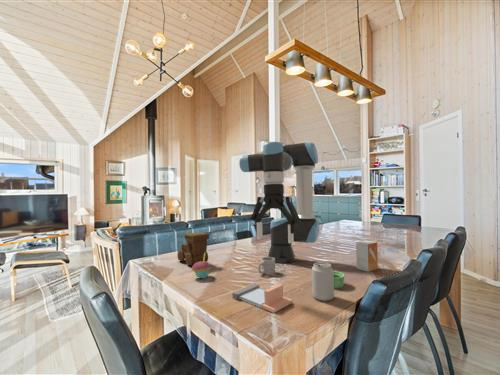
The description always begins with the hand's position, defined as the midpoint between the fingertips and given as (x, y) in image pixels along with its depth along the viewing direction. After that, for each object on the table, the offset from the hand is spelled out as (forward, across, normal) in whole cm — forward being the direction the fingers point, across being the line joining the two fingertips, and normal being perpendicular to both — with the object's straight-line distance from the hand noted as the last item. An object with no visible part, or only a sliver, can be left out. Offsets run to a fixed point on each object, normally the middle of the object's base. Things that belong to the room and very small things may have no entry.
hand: (274, 240), depth 94 cm
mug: (+20, -17, +19) cm, 32 cm away
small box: (+20, +20, +52) cm, 59 cm away
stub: (+20, +5, -7) cm, 22 cm away
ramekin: (+20, +14, +22) cm, 33 cm away
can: (+20, +15, +8) cm, 27 cm away
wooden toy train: (+20, -61, +12) cm, 65 cm away
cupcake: (+20, -38, -2) cm, 44 cm away
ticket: (+20, -4, -6) cm, 22 cm away
